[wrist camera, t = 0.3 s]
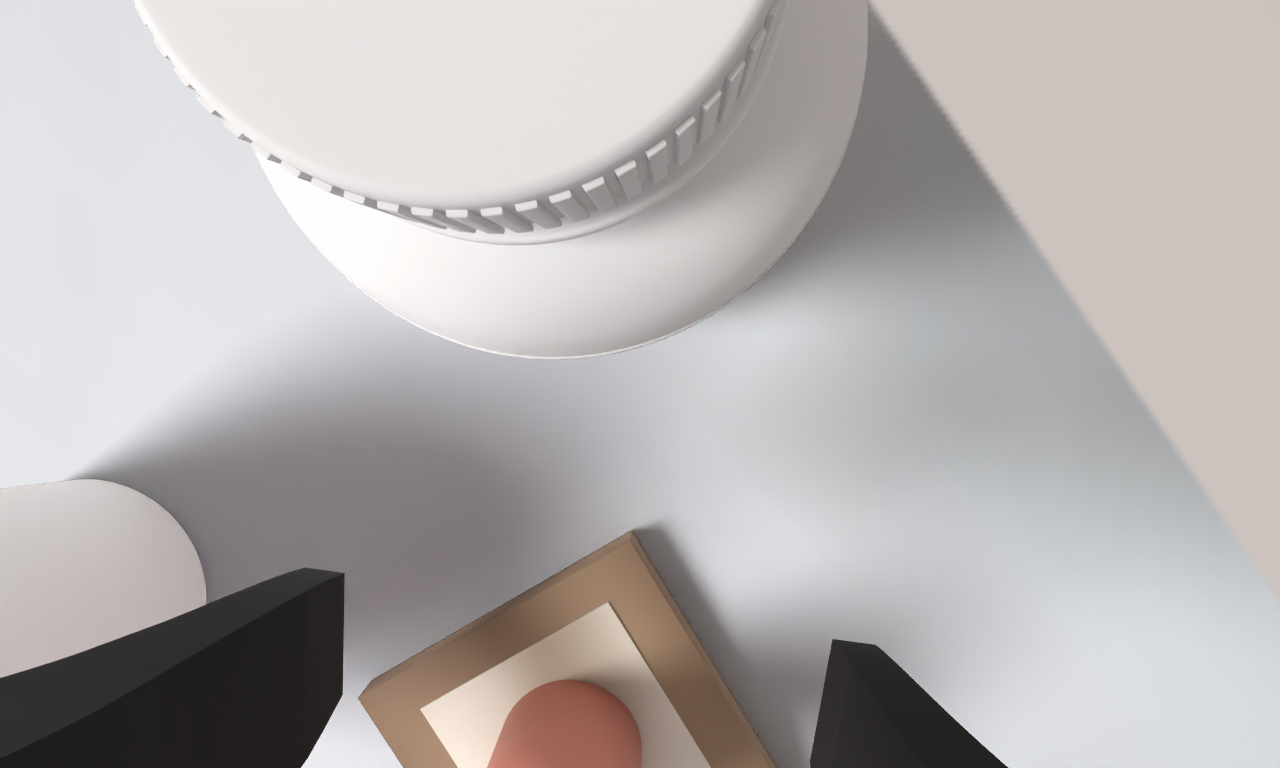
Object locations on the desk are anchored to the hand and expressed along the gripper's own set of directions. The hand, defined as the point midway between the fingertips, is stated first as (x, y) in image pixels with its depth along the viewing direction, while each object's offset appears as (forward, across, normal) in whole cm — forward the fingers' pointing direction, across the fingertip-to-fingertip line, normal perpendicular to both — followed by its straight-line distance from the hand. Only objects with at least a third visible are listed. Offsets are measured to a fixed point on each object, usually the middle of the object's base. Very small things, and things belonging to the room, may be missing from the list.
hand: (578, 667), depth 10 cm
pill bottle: (+11, +2, -7) cm, 13 cm away
